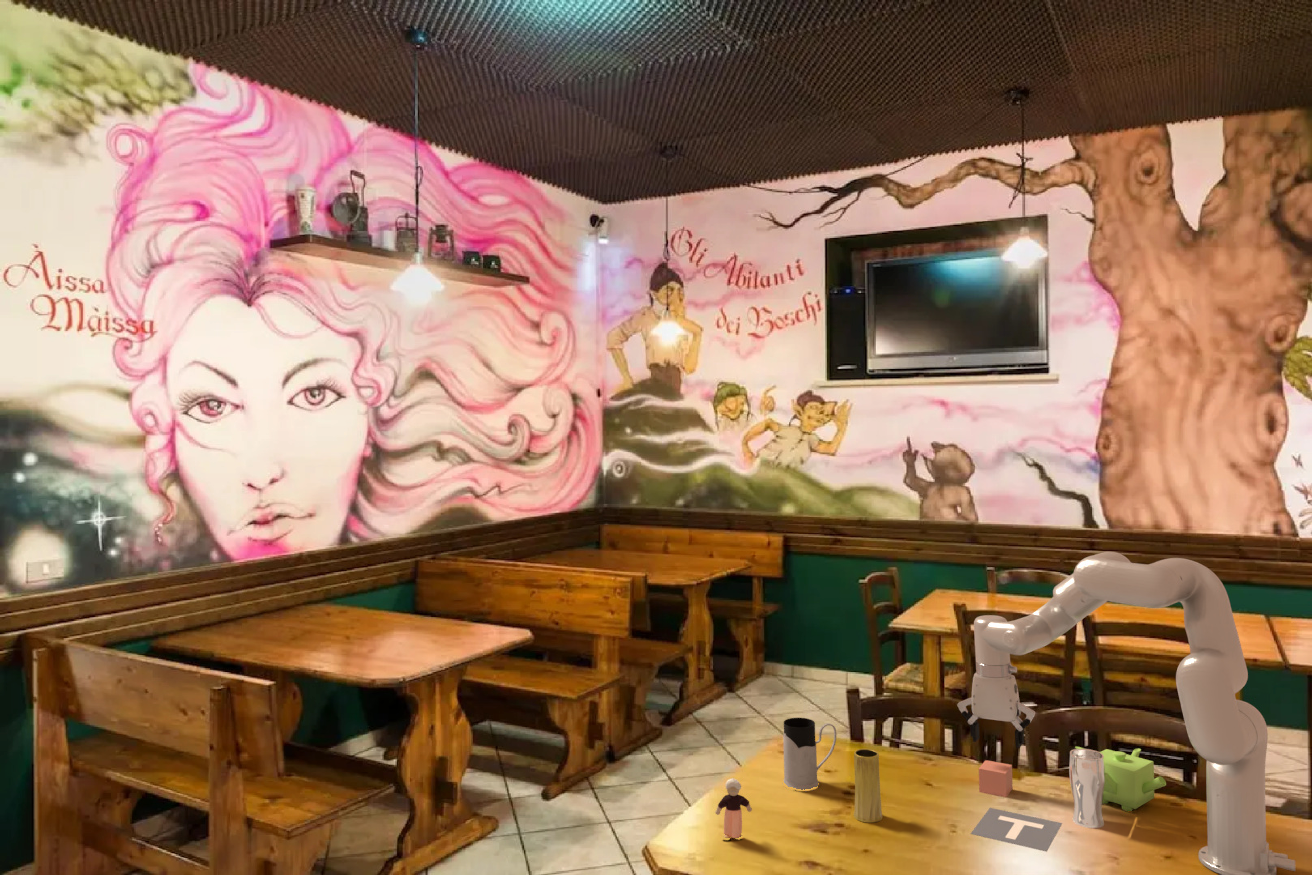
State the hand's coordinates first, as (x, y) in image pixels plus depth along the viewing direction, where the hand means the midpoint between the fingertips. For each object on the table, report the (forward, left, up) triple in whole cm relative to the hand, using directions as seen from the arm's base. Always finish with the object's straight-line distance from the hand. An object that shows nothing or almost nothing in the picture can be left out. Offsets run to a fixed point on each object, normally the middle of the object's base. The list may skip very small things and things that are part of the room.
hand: (997, 743), depth 211 cm
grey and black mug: (+40, +17, -12) cm, 45 cm away
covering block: (+1, 0, -12) cm, 12 cm away
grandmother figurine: (+41, +52, -12) cm, 67 cm away
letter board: (-8, +18, -12) cm, 23 cm away
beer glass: (-20, +7, -12) cm, 24 cm away
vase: (+21, +28, -12) cm, 37 cm away
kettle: (-24, -9, -12) cm, 29 cm away
